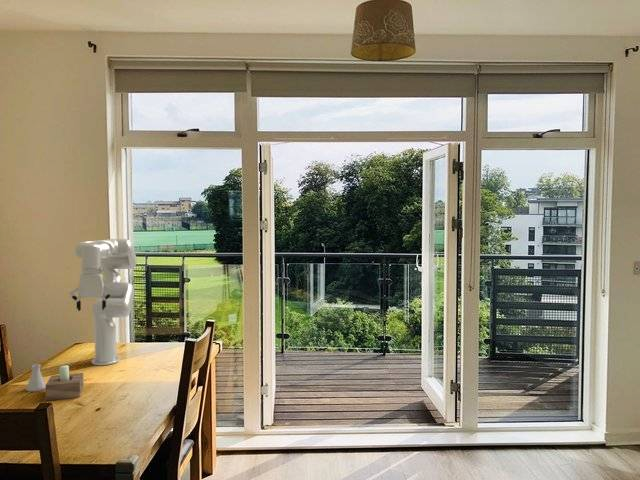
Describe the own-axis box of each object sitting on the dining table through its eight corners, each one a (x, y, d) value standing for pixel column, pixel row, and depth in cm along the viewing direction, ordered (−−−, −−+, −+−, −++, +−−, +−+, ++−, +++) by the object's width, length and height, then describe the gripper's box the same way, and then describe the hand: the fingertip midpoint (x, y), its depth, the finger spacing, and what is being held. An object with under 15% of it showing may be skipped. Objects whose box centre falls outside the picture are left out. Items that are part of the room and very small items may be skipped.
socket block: (51, 389, 200) (51, 375, 200) (83, 386, 205) (83, 372, 204) (45, 400, 189) (45, 385, 189) (79, 396, 193) (79, 382, 193)
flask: (50, 387, 203) (50, 363, 203) (35, 393, 197) (34, 368, 196) (37, 385, 206) (37, 362, 205) (22, 390, 199) (21, 366, 199)
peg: (61, 389, 198) (60, 365, 197) (70, 388, 199) (69, 364, 198) (59, 392, 195) (58, 368, 194) (68, 391, 196) (67, 367, 195)
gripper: (112, 270, 222) (113, 307, 222) (70, 271, 216) (71, 309, 217) (111, 272, 215) (112, 310, 215) (68, 273, 209) (68, 312, 210)
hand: (91, 309), depth 216 cm, fingers open, 9 cm apart
